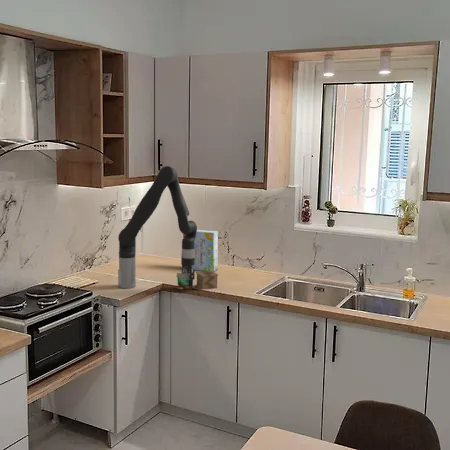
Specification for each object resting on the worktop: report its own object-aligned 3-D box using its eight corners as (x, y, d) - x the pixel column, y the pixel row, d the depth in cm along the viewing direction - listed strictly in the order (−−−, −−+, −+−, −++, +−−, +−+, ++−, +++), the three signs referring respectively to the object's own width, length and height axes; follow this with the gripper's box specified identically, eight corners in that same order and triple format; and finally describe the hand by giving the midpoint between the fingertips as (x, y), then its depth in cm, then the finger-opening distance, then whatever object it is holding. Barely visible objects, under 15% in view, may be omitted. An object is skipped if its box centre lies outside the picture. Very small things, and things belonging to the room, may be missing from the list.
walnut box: (202, 289, 320) (202, 275, 318) (195, 285, 328) (196, 272, 327) (217, 288, 324) (218, 274, 322) (211, 284, 332) (211, 270, 331)
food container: (184, 292, 313) (184, 274, 312) (176, 290, 317) (176, 273, 316) (199, 288, 323) (199, 270, 321) (191, 286, 327) (191, 269, 325)
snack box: (218, 269, 369) (218, 230, 366) (213, 272, 361) (214, 232, 358) (187, 266, 377) (188, 228, 373) (182, 269, 369) (182, 230, 365)
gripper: (177, 254, 322) (177, 282, 325) (186, 259, 309) (186, 288, 312) (189, 253, 325) (189, 281, 328) (199, 258, 312) (198, 287, 315)
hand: (187, 284), depth 320 cm, fingers open, 8 cm apart
